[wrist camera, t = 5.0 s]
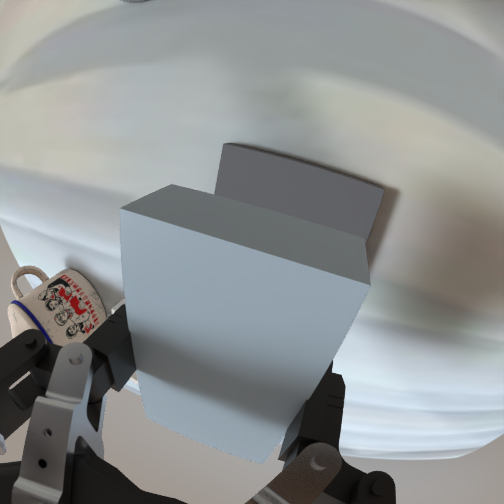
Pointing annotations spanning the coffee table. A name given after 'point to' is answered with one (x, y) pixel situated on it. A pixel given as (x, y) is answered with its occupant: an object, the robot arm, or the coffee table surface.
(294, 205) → the mat
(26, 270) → the teacup with lid
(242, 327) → the lid
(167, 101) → the coffee table surface
